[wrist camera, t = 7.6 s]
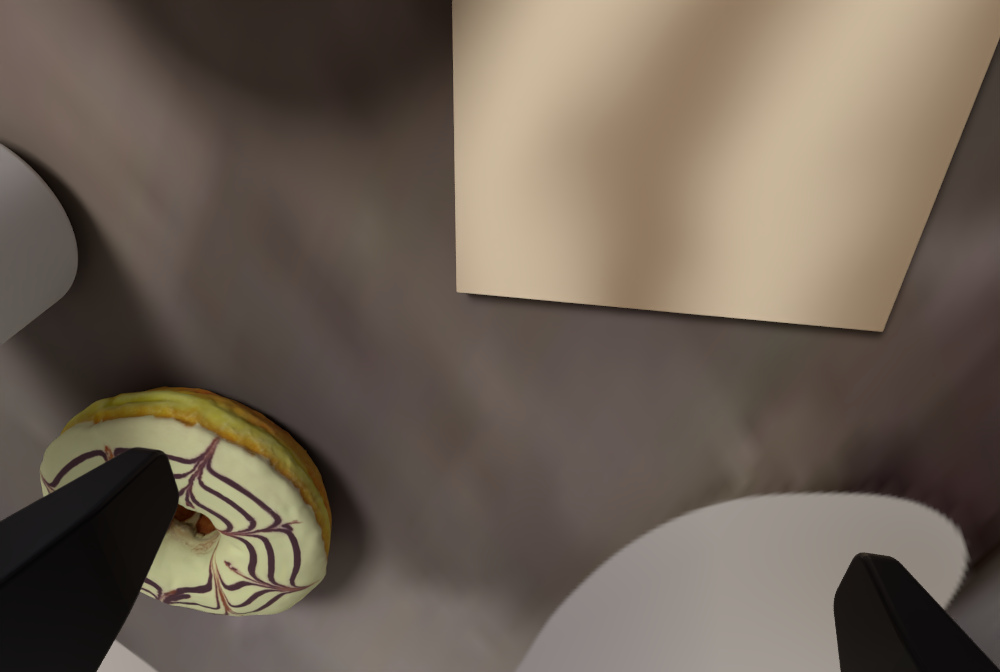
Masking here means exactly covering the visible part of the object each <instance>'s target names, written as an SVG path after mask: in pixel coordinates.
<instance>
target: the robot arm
mask: <svg viewBox="0 0 1000 672" xmlns="http://www.w3.org/2000/svg"><path fill="white" fill-rule="evenodd" d="M178 503H179V491H178V487H177V484H176V481H175V477H174V474H173V471H172V468H171V465H170V462H169V458H168V456H167V455H166V454H165V453H164V452H163V451H161V450H156V449H149V448H142V447H134V448H131V449H128V450H126V451H124V452H123V453H121V454H119V455H117V456H116V457H114V458H112V459H110V460H108V461H107V462H105V463H103V464H101V465H100V466H98V467H96V468H94V469H92V470H91V471H89V472H87V473H85V474H83V475H82V476H80V477H78V478H76V479H75V480H73V481H71V482H69V483H67V484H66V485H64V486H62V487H60V488H59V489H57V490H55V491H53V492H51V493H50V494H48V495H46V496H44V497H43V498H41V499H39V500H37V501H35V502H34V503H32V504H30V505H28V506H27V507H25V508H23V509H21V510H19V511H18V512H16V513H14V514H12V515H11V516H9V517H7V518H5V519H3V520H2V521H0V672H97V670H98V668H99V666H100V665H101V663H102V661H103V659H104V658H105V656H106V654H107V652H108V651H109V649H110V647H111V645H112V644H113V642H114V640H115V639H116V637H117V635H118V633H119V632H120V630H121V628H122V626H123V624H124V623H125V621H126V619H127V617H128V615H129V613H130V611H131V609H132V607H133V605H134V603H135V601H136V599H137V597H138V595H139V593H140V590H141V588H142V586H143V584H144V581H145V579H146V577H147V575H148V573H149V570H150V568H151V566H152V564H153V561H154V559H155V557H156V555H157V552H158V550H159V548H160V546H161V544H162V541H163V539H164V537H165V535H166V532H167V530H168V528H169V526H170V523H171V521H172V519H173V517H174V514H175V512H176V510H177V507H178ZM834 617H835V626H836V634H837V643H838V652H839V660H840V668H841V672H1000V669H999V668H998V667H997V666H996V665H995V664H994V663H993V662H992V661H991V660H990V659H989V658H988V657H987V655H986V654H985V653H984V652H983V651H982V650H981V649H980V648H979V647H978V646H977V645H976V644H975V643H974V642H973V640H972V639H971V638H970V637H969V636H968V635H967V634H966V633H965V632H964V631H963V630H962V629H961V628H960V627H959V625H958V624H957V623H956V622H955V621H954V620H953V619H952V618H951V617H950V616H949V615H948V614H947V613H946V611H945V610H944V609H943V608H942V607H941V606H940V605H939V604H938V603H937V602H936V601H935V600H934V599H933V598H932V597H931V596H930V594H929V593H928V592H927V591H926V590H925V589H924V588H923V587H922V586H921V585H920V584H919V583H918V582H917V580H916V579H915V578H914V577H913V576H912V575H911V574H910V573H909V572H908V571H907V570H906V569H905V568H904V567H903V565H902V564H901V563H900V562H899V561H897V560H896V559H894V558H892V557H890V556H884V555H877V554H870V553H859V554H857V555H856V556H855V557H854V558H853V560H852V562H851V563H850V565H849V568H848V569H847V571H846V573H845V575H844V577H843V579H842V581H841V583H840V585H839V587H838V589H837V591H836V594H835V598H834Z"/></svg>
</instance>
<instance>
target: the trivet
mask: <svg viewBox="0 0 1000 672" xmlns="http://www.w3.org/2000/svg"><path fill="white" fill-rule="evenodd" d="M452 26H453V89H454V152H455V215H456V278H457V292H462V293H472V294H483V295H494V296H505V297H515V298H526V299H537V300H547V301H558V302H569V303H580V304H590V305H601V306H612V307H622V308H633V309H644V310H655V311H665V312H676V313H687V314H697V315H708V316H719V317H730V318H740V319H751V320H762V321H773V322H783V323H794V324H805V325H815V326H826V327H837V328H848V329H858V330H869V331H880V332H883V330H884V327H885V325H886V322H887V320H888V317H889V315H890V312H891V310H892V307H893V305H894V302H895V300H896V297H897V295H898V292H899V289H900V287H901V284H902V282H903V279H904V277H905V274H906V272H907V269H908V267H909V264H910V262H911V259H912V257H913V254H914V252H915V249H916V247H917V244H918V242H919V239H920V237H921V234H922V232H923V229H924V227H925V224H926V222H927V219H928V217H929V214H930V212H931V209H932V207H933V204H934V202H935V199H936V197H937V194H938V192H939V189H940V187H941V184H942V182H943V179H944V177H945V174H946V171H947V169H948V166H949V164H950V161H951V159H952V156H953V154H954V151H955V149H956V146H957V144H958V141H959V139H960V136H961V134H962V131H963V129H964V126H965V124H966V121H967V119H968V116H969V114H970V111H971V109H972V106H973V104H974V101H975V99H976V96H977V94H978V91H979V89H980V86H981V84H982V81H983V79H984V76H985V74H986V71H987V69H988V66H989V64H990V61H991V59H992V56H993V53H994V51H995V48H996V46H997V43H998V41H999V38H1000V0H452Z"/></svg>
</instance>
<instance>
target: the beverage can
mask: <svg viewBox="0 0 1000 672" xmlns="http://www.w3.org/2000/svg"><path fill="white" fill-rule="evenodd" d="M77 267H78V250H77V243H76V239H75V235H74V232H73V229H72V226H71V223H70V221H69V219H68V217H67V215H66V213H65V211H64V209H63V207H62V205H61V204H60V202H59V200H58V199H57V197H56V196H55V194H54V193H53V192H52V190H51V189H50V188H49V186H48V185H47V184H46V183H45V182H44V180H43V179H42V178H41V177H40V176H39V175H38V174H37V173H36V172H35V171H34V170H33V169H32V168H31V167H30V166H29V165H28V164H27V163H26V162H25V161H24V160H22V159H21V158H20V157H19V156H18V155H16V154H15V153H14V152H12V151H11V150H10V149H8V148H7V147H6V146H4V145H2V144H1V143H0V346H1V345H2V344H3V343H5V342H6V341H7V340H8V339H10V338H11V337H12V336H14V335H15V334H16V333H17V332H19V331H20V330H21V329H23V328H24V327H25V326H26V325H28V324H29V323H30V322H32V321H33V320H34V319H35V318H37V317H38V316H39V315H40V314H42V313H43V312H44V311H46V310H47V309H48V308H49V307H51V306H52V305H53V304H55V303H56V302H57V301H58V300H60V299H61V298H62V297H63V296H64V295H65V294H66V293H67V291H68V290H69V289H70V287H71V286H72V284H73V281H74V279H75V276H76V273H77Z"/></svg>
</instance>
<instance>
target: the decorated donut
mask: <svg viewBox="0 0 1000 672" xmlns="http://www.w3.org/2000/svg"><path fill="white" fill-rule="evenodd" d="M134 447H142V448H149V449H156V450H161V451H163V452H164V453H165V454H166V455H167V456H168V458H169V462H170V465H171V468H172V471H173V474H174V477H175V481H176V484H177V487H178V491H179V503H178V507H177V510H176V512H175V514H174V517H173V519H172V521H171V523H170V526H169V528H168V530H167V532H166V535H165V537H164V539H163V541H162V544H161V546H160V548H159V550H158V552H157V555H156V557H155V559H154V561H153V564H152V566H151V568H150V570H149V573H148V575H147V577H146V579H145V581H144V584H143V586H142V588H141V590H140V591H141V592H142V593H144V594H146V595H148V596H150V597H152V598H155V599H157V600H160V601H162V602H164V603H167V604H169V605H174V606H183V607H187V608H191V609H195V610H199V611H204V612H208V613H211V614H219V615H232V616H247V615H259V614H260V615H266V614H276V613H280V612H283V611H285V610H287V609H289V608H291V607H292V606H293V605H294V604H296V603H297V602H299V601H300V600H301V599H303V598H304V597H305V596H306V595H307V594H308V593H309V592H310V591H311V590H312V589H314V588H315V587H316V586H317V585H318V584H319V583H320V582H321V581H322V580H323V578H324V576H325V575H326V566H327V559H328V552H329V547H330V538H331V537H330V535H331V524H332V518H331V510H330V506H329V501H328V498H327V493H326V490H325V488H324V485H323V481H322V477H321V474H320V473H319V471H318V469H317V467H316V465H315V464H314V463H313V461H312V459H311V457H310V456H309V455H308V454H307V453H306V451H307V450H304V449H303V447H301V446H300V444H298V443H297V442H296V441H295V440H294V439H293V438H292V436H291V435H290V434H289V433H288V432H287V431H284V430H283V429H281V428H280V427H279V426H277V425H276V424H275V423H274V422H272V421H271V420H269V419H267V418H266V417H265V416H264V415H263V414H261V413H259V412H258V411H255V410H253V409H250V408H249V407H247V406H245V405H243V404H241V403H239V402H237V401H234V400H232V399H229V398H226V397H222V396H220V395H218V394H215V393H213V392H210V391H208V390H204V389H200V388H194V389H193V388H185V387H176V388H175V387H166V386H164V387H158V388H154V389H150V390H147V391H143V392H135V393H123V394H119V395H117V396H115V397H109V398H105V399H101V400H98V401H96V402H94V403H92V404H91V405H90V406H88V407H87V408H86V409H84V410H83V411H81V412H80V413H79V414H77V415H76V416H75V417H73V418H72V419H71V420H70V421H69V422H68V423H67V424H66V426H65V427H64V429H63V430H62V432H61V434H60V436H59V437H58V438H56V439H55V440H54V441H53V442H52V443H51V444H50V445H49V446H48V448H47V449H46V451H45V454H44V458H43V462H42V463H41V467H40V475H41V477H40V479H41V485H42V490H43V495H44V496H46V495H48V494H50V493H51V492H53V491H55V490H57V489H59V488H60V487H62V486H64V485H66V484H67V483H69V482H71V481H73V480H75V479H76V478H78V477H80V476H82V475H83V474H85V473H87V472H89V471H91V470H92V469H94V468H96V467H98V466H100V465H101V464H103V463H105V462H107V461H108V460H110V459H112V458H114V457H116V456H117V455H119V454H121V453H123V452H124V451H126V450H128V449H131V448H134Z"/></svg>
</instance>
